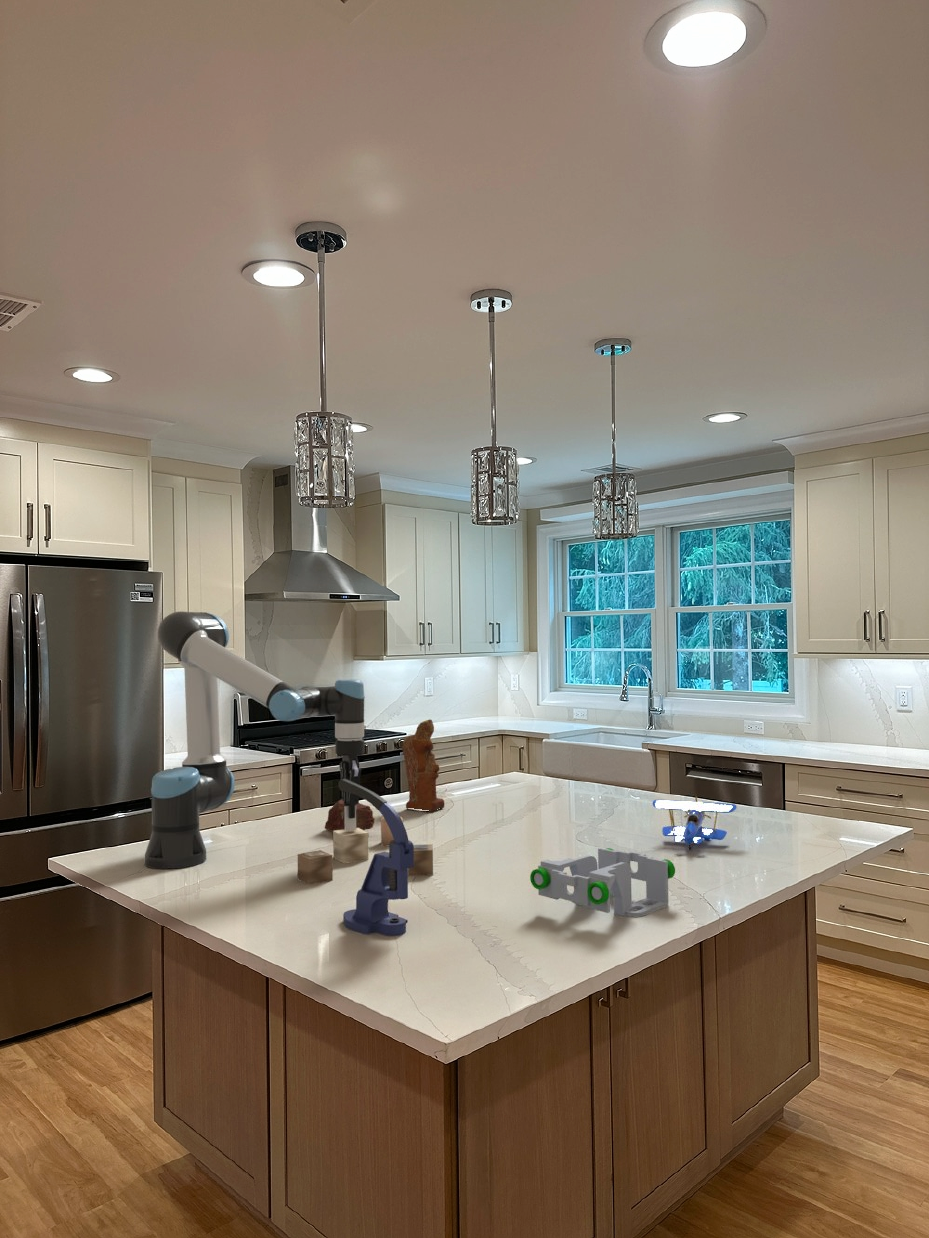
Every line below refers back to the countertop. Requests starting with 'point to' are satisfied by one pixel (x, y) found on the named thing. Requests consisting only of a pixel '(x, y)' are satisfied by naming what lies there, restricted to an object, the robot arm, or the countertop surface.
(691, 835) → the airplane toy
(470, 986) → the countertop surface
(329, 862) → the walnut block
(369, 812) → the rock
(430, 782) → the sculpture
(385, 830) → the peach rounded cylinder
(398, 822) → the hand press
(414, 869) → the walnut block
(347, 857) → the maple block
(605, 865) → the bracket
